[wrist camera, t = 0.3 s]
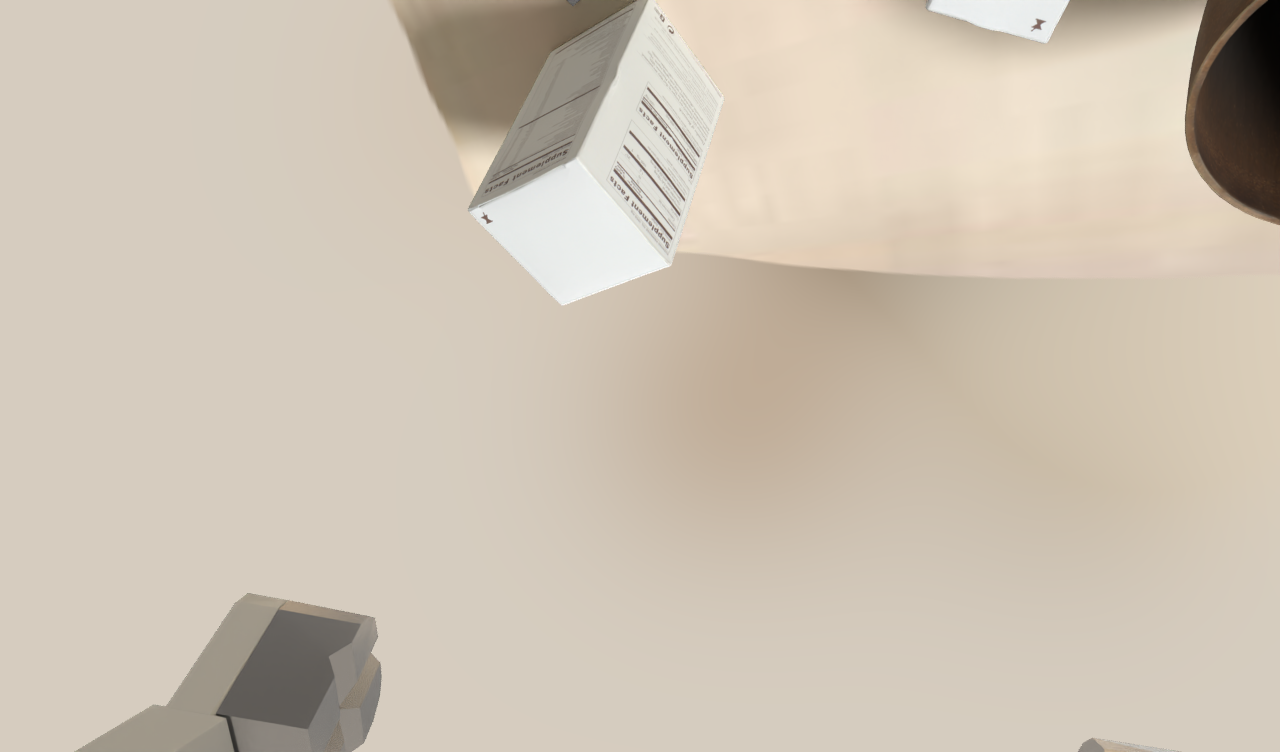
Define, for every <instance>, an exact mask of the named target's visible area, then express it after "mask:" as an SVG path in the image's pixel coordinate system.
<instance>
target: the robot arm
mask: <svg viewBox="0 0 1280 752" xmlns="http://www.w3.org/2000/svg"><path fill="white" fill-rule="evenodd" d="M377 638H378V635H377V628H376V621H375V618H373V617H370V616H365V615H360V614H355V613H350V612H345V611H339V610H335V609H330V608H325V607H319V606H315V605H310V604H304V603H300V602H294V601H289V600H283V599H278V598H272V597H266V596H261V595H256V594H250V593H247V594H246V595H245V596H244V597H243V598H241V599H240V600H239V601H237V602H236V603H235V604H234V605H233V607H232V608H231V610H230V612H229V613H228V614H227V616H226V617H225V619H224V620H223V622H222V623H221V625H220V626H219V628H218V629H217V631H216V632H215V634H214V635H213V637H212V638H211V640H210V642H209V643H208V644H207V646H206V648H205V649H204V650H203V652H202V653H201V655H200V656H199V658H198V660H197V661H196V662H195V664H194V665H193V667H192V668H191V670H190V671H189V673H188V674H187V676H186V677H185V679H184V680H183V682H182V684H181V685H180V686H179V688H178V689H177V691H176V692H175V694H174V695H173V697H172V698H171V700H170V701H169V703H168V704H167V706H159V705H152V706H150V707H149V708H147V709H145V710H144V711H142V712H140V713H139V714H137V715H135V716H134V717H132V718H130V719H129V720H127V721H125V722H124V723H122V724H120V725H119V726H117V727H115V728H114V729H112V730H110V731H108V732H107V733H105V734H103V735H102V736H100V737H98V738H97V739H95V740H93V741H92V742H90V743H88V744H87V745H85V746H83V747H82V748H80V749H78V750H77V751H75V752H352V751H353V750H355V749H356V748H358V747H359V746H360V745H362V744H363V743H364V741H365V739H366V737H367V734H368V732H369V729H370V727H371V725H372V722H373V719H374V715H375V712H376V708H377V705H378V701H379V697H380V689H381V688H380V687H381V665H380V662H379V661H378V660H377V659H376V658H375V657H374V655H373V654H372V653H371V651H372V649H373V647H374V644H375V642H376V640H377ZM1078 752H1179V751H1174V750H1167V749H1160V748H1154V747H1148V746H1142V745H1135V744H1129V743H1122V742H1116V741H1110V740H1103V739H1097V738H1091V739H1089V740H1088V741H1086V742H1084V743H1083V744H1082V746H1081V748H1080V749H1079V751H1078Z"/></svg>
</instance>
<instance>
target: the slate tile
mask: <svg viewBox="0 0 1280 752" xmlns="http://www.w3.org/2000/svg"><path fill="white" fill-rule="evenodd" d="M567 1H568V2H569V3H570V4H571V5H572V6H574V5H575V4H576V3H577V2H578V1H579V0H567Z"/></svg>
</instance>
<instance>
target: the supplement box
mask: <svg viewBox="0 0 1280 752" xmlns="http://www.w3.org/2000/svg"><path fill="white" fill-rule="evenodd" d="M723 101H724V96H723V94H722V93H721V91H720V90H719V89H718V87H717V86H716V84H715V83H714V82H713V80H712V79H711V77H710V76H709V75H708V73H707V72H706V70H705V69H704V68H703V66H702V65H701V63H700V62H699V61H698V59H697V58H696V56H695V55H694V54H693V52H692V51H691V50H690V48H689V47H688V45H687V44H686V43H685V41H684V40H683V39H682V37H681V36H680V34H679V33H678V31H677V30H676V29H675V27H674V26H673V24H672V23H671V22H670V20H669V19H668V17H667V16H666V15H665V13H664V12H663V10H662V9H661V8H660V6H659V5H658V3H657V2H656V1H655V0H637V1H635V2H634V3H632V4H630V5H629V6H627V7H625V8H623V9H622V10H620V11H618V12H617V13H615V14H613V15H612V16H610V17H608V18H607V19H605V20H604V21H602V22H600V23H599V24H597V25H595V26H594V27H592V28H590V29H589V30H587V31H585V32H584V33H582V34H580V35H579V36H577V37H575V38H574V39H572V40H570V41H568V42H567V43H565V44H563V45H562V46H560V47H558V48H557V49H555V50H554V51H552V52H551V53H550V54H549V56H548V58H547V60H546V62H545V64H544V66H543V68H542V69H541V71H540V73H539V75H538V77H537V79H536V81H535V83H534V85H533V87H532V89H531V91H530V93H529V94H528V96H527V98H526V100H525V102H524V104H523V106H522V108H521V109H520V111H519V113H518V115H517V117H516V119H515V121H514V123H513V125H512V127H511V129H510V131H509V132H508V134H507V136H506V138H505V140H504V142H503V144H502V146H501V148H500V150H499V151H498V153H497V155H496V157H495V159H494V161H493V162H492V164H491V166H490V168H489V170H488V172H487V174H486V176H485V178H484V179H483V181H482V183H481V185H480V187H479V189H478V191H477V193H476V195H475V196H474V198H473V200H472V202H471V204H470V206H469V208H468V211H469V213H470V214H471V215H472V216H473V217H474V218H475V219H476V220H477V221H478V222H479V223H480V224H481V225H482V226H483V227H484V228H485V229H486V230H487V231H488V232H489V233H490V234H491V235H492V236H493V237H494V238H495V239H496V240H497V241H498V242H499V243H500V244H501V245H502V246H503V247H504V248H505V249H506V250H507V251H508V252H509V253H510V254H511V255H512V256H513V257H514V258H515V259H516V260H517V261H518V262H519V263H520V264H521V265H522V266H523V267H524V268H525V269H526V271H527V272H528V273H530V275H531V276H533V278H534V279H535V280H536V281H537V282H538V283H539V284H541V286H542V287H543V288H544V289H545V290H546V291H547V292H548V293H549V294H550V295H551V296H552V297H553V298H554V299H555V300H556V301H557V302H559V303H560V304H561V305H566V304H568V303H571V302H573V301H576V300H579V299H581V298H584V297H587V296H589V295H592V294H595V293H597V292H600V291H603V290H605V289H608V288H611V287H614V286H617V285H619V284H622V283H624V282H627V281H630V280H633V279H635V278H638V277H641V276H643V275H646V274H649V273H652V272H655V271H657V270H660V269H663V268H666V267H669V266H671V264H672V261H673V258H674V255H675V252H676V249H677V246H678V243H679V239H680V236H681V233H682V230H683V227H684V224H685V220H686V217H687V214H688V211H689V208H690V205H691V202H692V199H693V195H694V192H695V189H696V186H697V183H698V180H699V177H700V174H701V171H702V168H703V165H704V161H705V158H706V155H707V152H708V149H709V146H710V143H711V139H712V136H713V133H714V130H715V127H716V124H717V121H718V117H719V115H720V111H721V108H722V105H723Z"/></svg>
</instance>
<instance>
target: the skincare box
mask: <svg viewBox="0 0 1280 752" xmlns="http://www.w3.org/2000/svg"><path fill="white" fill-rule="evenodd" d="M1069 1H1070V0H927V1H926V9H927V10H929V11H932V12H935V13H939V14H942V15H946V16H949V17H953V18H956V19H960V20H963V21H966V22H969V23H971V24H973V25H976V26H979V27H982V28H985V29H989V30H993V31H1000V32H1004V33H1008V34H1011V35H1015V36H1019V37H1023V38H1026V39H1030V40H1033V41H1037V42H1040V43H1047V42H1048V41H1049V39H1050V37H1051V35H1052V33H1053V31H1054V29H1055V27H1056V25H1057V23H1058V22H1059V20H1060V18H1061V16H1062V14H1063V12H1064V10H1065V9H1066V7H1067V5H1068V3H1069Z"/></svg>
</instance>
